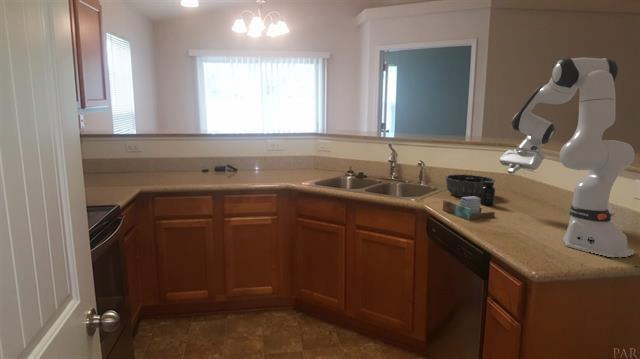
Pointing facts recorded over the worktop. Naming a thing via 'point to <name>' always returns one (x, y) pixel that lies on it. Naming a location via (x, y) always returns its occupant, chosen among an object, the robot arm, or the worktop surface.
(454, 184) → the bundt pan
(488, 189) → the supplement bottle
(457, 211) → the slot comb
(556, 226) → the worktop surface
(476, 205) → the medicine box
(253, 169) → the worktop surface
